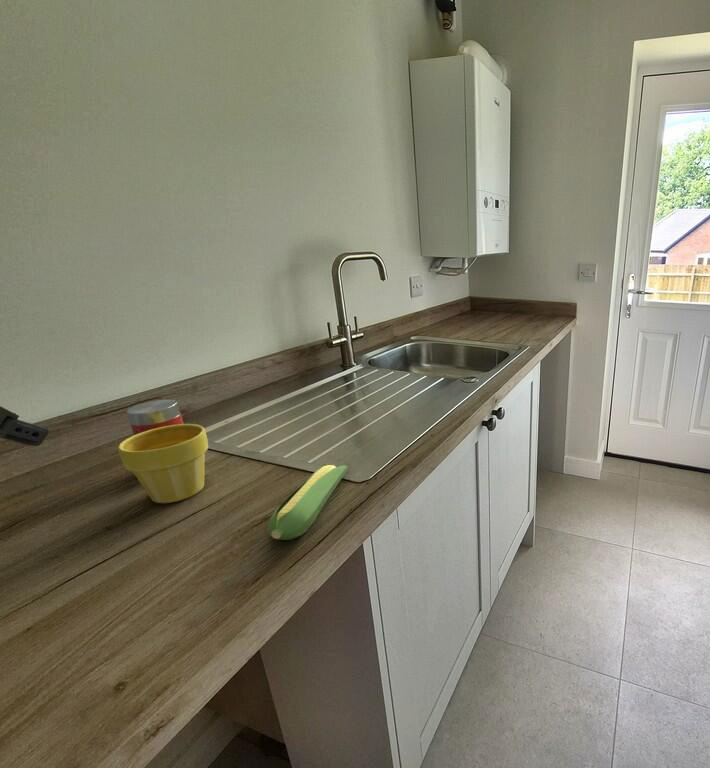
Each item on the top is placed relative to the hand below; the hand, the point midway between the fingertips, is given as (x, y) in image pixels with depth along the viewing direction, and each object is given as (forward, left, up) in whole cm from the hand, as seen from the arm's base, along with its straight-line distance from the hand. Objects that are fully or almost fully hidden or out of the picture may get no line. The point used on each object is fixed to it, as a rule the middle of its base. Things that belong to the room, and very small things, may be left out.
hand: (39, 437), depth 49 cm
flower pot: (+11, +6, -16) cm, 21 cm away
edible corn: (+24, -14, -16) cm, 32 cm away
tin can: (+12, +18, -16) cm, 27 cm away
